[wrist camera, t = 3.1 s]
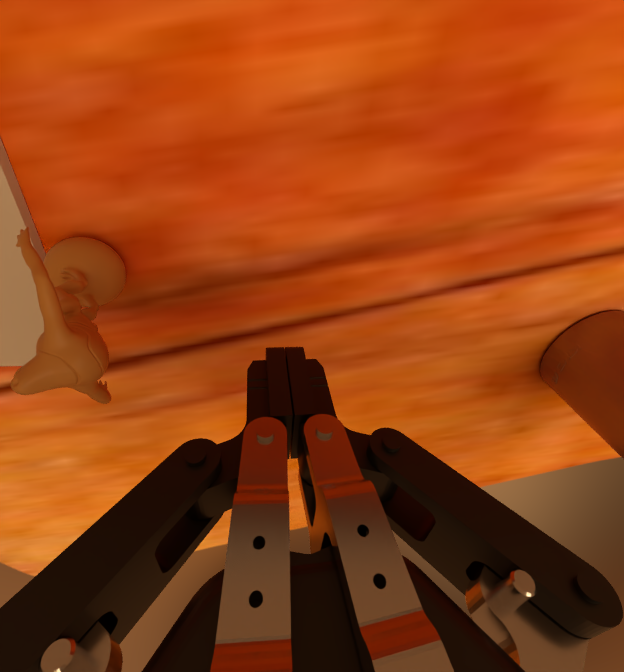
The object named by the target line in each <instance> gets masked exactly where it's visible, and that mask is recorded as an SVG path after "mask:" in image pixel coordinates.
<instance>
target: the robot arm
mask: <svg viewBox="0 0 624 672" xmlns="http://www.w3.org/2000/svg"><path fill="white" fill-rule="evenodd" d="M540 374H541V377H542V379H543V380H544V381H545V382H546V383H547V384H548V385H549V386H550V387H551V388H552V389H553V390H554V391H555V392H556V393H557V394H558V395H559V396H560V397H561V398H562V399H563V400H564V401H565V402H566V403H567V404H568V405H569V406H570V407H571V408H572V409H573V410H574V411H575V412H576V413H577V414H578V415H579V416H580V417H581V418H582V419H583V420H584V421H585V422H586V423H587V424H588V425H589V426H590V427H591V428H592V429H593V430H594V431H595V432H596V433H598V434H599V435H600V436H601V437H602V438H603V439H604V440H605V441H606V442H607V443H608V444H609V445H610V446H611V447H612V448H613V449H614V450H615V451H616V452H617V453H618V454H619V455H620V456H621V457H622V458H623V459H624V311H608V312H602V313H599V314H596V315H593V316H591V317H589V318H586V319H584V320H582V321H580V322H579V323H577V324H575V325H574V326H572V327H571V328H569V329H568V330H567V331H566V332H564V333H563V334H562V335H561V336H559V337H558V339H557V340H556V341H555V342H554V343H553V344H552V345H551V346H550V348H549V349H548V350H547V352H546V353H545V355H544V357H543V359H542V362H541V366H540ZM289 454H290V455H291V459H293V458H298V463H299V474H298V480H299V485H300V490H301V495H302V500H303V505H304V510H305V515H306V520H307V525H308V530H309V539H310V553H311V554H302V553H296V552H291V551H290V539H289V538H290V537H289V536H290V535H289V491H288V476H287V459H289ZM229 509H232V514H231V522H230V530H229V538H228V547H227V554H226V562H225V569H223V570H222V571H220V572H218V573H217V574H216V575H214V576H213V577H212V578H210V579H209V580H208V581H207V582H206V583H205V584H204V585H203V586H202V587H201V588H200V589H199V591H198V592H197V593H196V594H195V595H194V596H193V598H192V599H191V601H190V602H189V603H188V605H187V606H186V608H185V609H184V610H183V612H182V613H181V615H180V616H179V618H178V619H177V621H176V622H175V624H174V625H173V627H172V628H171V630H170V631H169V633H168V634H167V635H166V637H165V638H164V640H163V641H162V643H161V644H160V646H159V647H158V649H157V650H156V651H155V653H154V654H153V656H152V657H151V659H150V660H149V662H148V663H147V665H146V666H145V668H144V669H143V671H142V672H583V670H584V664H585V657H586V652H587V645H588V642H589V640H590V639H591V638H593V637H595V636H597V635H599V634H601V633H603V632H605V631H607V630H609V629H611V628H613V627H615V626H617V625H619V624H620V622H621V620H622V617H623V610H622V605H621V602H620V600H619V597H618V595H617V593H616V592H615V590H614V589H613V587H612V586H611V584H610V583H609V582H608V581H607V580H606V578H605V577H604V576H603V575H602V574H601V573H600V572H598V571H597V570H596V569H595V568H594V567H592V566H591V565H589V564H588V563H587V562H585V561H584V560H582V559H581V558H579V557H578V556H576V555H575V554H574V553H572V552H571V551H569V550H568V549H567V548H565V547H564V546H562V545H561V544H559V543H558V542H557V541H555V540H554V539H552V538H551V537H549V536H548V535H547V534H545V533H544V532H542V531H541V530H539V529H538V528H537V527H535V526H534V525H532V524H531V523H529V522H528V521H527V520H525V519H524V518H522V517H521V516H519V515H518V514H517V513H515V512H514V511H512V510H510V509H509V508H508V507H507V506H505V505H504V504H502V503H501V502H499V501H498V500H497V499H495V498H494V497H492V496H491V495H489V494H488V493H487V492H485V491H484V490H482V489H481V488H479V487H478V486H477V485H475V484H474V483H472V482H471V481H469V480H468V479H467V478H465V477H464V476H462V475H461V474H459V473H458V472H457V471H455V470H454V469H452V468H451V467H449V466H448V465H447V464H445V463H444V462H442V461H441V460H439V459H438V458H437V457H435V456H434V455H432V454H431V453H429V452H428V451H427V450H425V449H424V448H422V447H421V446H419V445H418V444H417V443H415V442H414V441H412V440H411V439H409V438H408V437H407V436H405V435H404V434H402V433H401V432H399V431H397V430H395V429H391V428H380V429H377V430H375V431H374V432H373V433H372V435H367V434H362V433H358V432H354V431H351V430H349V429H347V428H346V427H344V426H343V424H342V423H341V422H340V421H339V420H338V419H337V417H336V414H335V410H334V406H333V403H332V399H331V395H330V391H329V387H328V384H327V380H326V376H325V372H324V368H323V367H322V365H321V364H320V363H319V362H318V361H317V360H316V359H306V358H305V353H304V348H303V347H285V350H284V347H277V348H266V360H258V361H253V362H252V363H251V365H250V366H249V368H248V371H247V421H246V425H245V427H244V429H243V430H242V432H241V433H240V434H239V435H237V436H236V437H234V438H233V439H231V440H228V441H226V442H223V443H220V444H217V445H216V443H214V442H213V441H211V440H208V439H203V438H200V439H193V440H190V441H188V442H186V443H184V444H182V445H181V446H180V447H179V448H177V449H176V450H175V451H174V452H173V453H172V454H171V455H170V456H169V457H167V458H166V459H165V460H164V461H163V462H162V463H161V464H160V465H159V466H157V467H156V468H155V469H154V470H153V471H152V472H151V473H150V474H149V475H147V476H146V477H145V478H144V479H143V480H142V481H141V482H140V483H139V484H137V485H136V486H135V487H134V488H133V489H132V490H131V491H130V492H129V493H128V494H126V495H125V496H124V497H123V498H122V499H121V500H120V501H119V502H118V503H116V504H115V505H114V506H113V507H112V508H111V509H110V510H109V511H108V512H106V513H105V514H104V515H103V516H102V517H101V518H100V519H99V520H98V521H96V522H95V523H94V524H93V525H92V526H91V527H90V528H89V529H88V530H86V531H85V532H84V533H83V534H82V535H81V536H80V537H79V538H78V539H76V540H75V541H74V542H73V543H72V544H71V545H70V546H69V547H68V548H66V549H65V550H64V551H63V552H62V553H61V554H60V555H59V556H58V557H57V558H55V559H54V560H53V561H52V562H51V563H50V564H49V565H48V566H47V567H45V568H44V569H43V570H42V571H41V572H40V573H39V574H38V575H37V576H35V577H34V578H33V579H32V580H31V581H30V582H29V583H28V584H27V585H25V586H24V587H23V588H22V589H21V590H20V591H19V592H18V593H17V594H15V595H14V596H13V597H12V598H11V599H10V600H9V601H8V602H7V603H5V604H4V605H3V606H2V607H1V608H0V672H121V670H122V663H123V657H122V651H121V648H120V646H119V644H120V643H121V642H122V640H123V639H124V638H125V637H126V635H127V634H128V633H129V632H130V630H131V629H132V628H133V627H134V625H135V624H136V623H137V622H138V620H139V619H140V618H141V617H142V615H143V614H144V613H145V612H146V610H147V609H148V608H149V606H150V605H151V604H152V603H153V602H154V600H155V599H156V598H157V597H158V595H159V594H160V593H161V592H162V590H163V589H164V588H165V587H166V585H167V584H168V583H169V582H170V580H171V579H172V578H173V577H174V575H175V574H176V573H177V572H178V570H179V569H180V568H181V566H182V565H183V564H184V563H185V562H186V560H187V559H188V558H189V557H190V555H191V554H192V553H193V552H194V550H195V549H196V548H197V547H198V545H199V544H200V543H201V542H202V540H203V539H204V538H205V537H206V535H207V534H208V533H209V532H210V530H211V529H212V528H213V527H214V525H215V524H216V523H217V522H218V520H219V519H220V518H221V517H222V515H223V513H224V512H225V511H227V510H229ZM392 530H393V531H394V532H395V533H396V534H397V535H398V536H399V537H400V538H401V539H403V540H404V541H405V542H406V543H407V544H408V545H409V546H410V547H411V548H413V549H414V550H415V551H416V552H417V553H418V554H419V555H421V556H422V557H423V558H424V559H425V560H426V561H427V562H428V563H429V564H431V565H432V566H433V567H434V568H435V569H436V570H437V571H438V572H439V573H441V574H442V575H443V576H444V577H445V578H446V579H447V580H449V581H450V582H451V583H452V584H453V585H454V586H455V587H456V588H457V589H458V590H460V591H461V592H462V593H463V594H464V595H465V596H466V604H467V608H468V611H469V613H470V616H471V618H470V617H469V616H468V615H467V614H466V613H465V612H463V611H462V609H461V608H460V607H458V606H457V605H456V604H455V603H454V602H453V601H452V600H451V599H450V598H449V597H448V596H447V595H446V594H445V593H444V592H443V591H442V590H441V589H440V588H439V587H438V586H437V585H436V584H435V583H434V582H432V580H431V579H430V578H429V577H428V576H427V575H426V574H425V573H423V571H422V570H421V569H419V568H418V567H417V566H416V565H415V564H414V563H412V562H411V561H410V560H409V559H407V558H406V557H404V556H402V555H401V553H400V550H399V548H398V545H397V542H396V540H395V537H394V535H393V532H392Z"/></svg>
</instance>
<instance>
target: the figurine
mask: <svg viewBox="0 0 624 672" xmlns="http://www.w3.org/2000/svg"><path fill="white" fill-rule="evenodd" d="M17 239H18V241H17V244H16V246H17V247H21V252H22V256H23V258H24V260H25V262H26V264H27V265H28V267H29V268H30V269H31V273H32V277H33V280H34V283H35V285H36V291H37V297H38V302H39V307H40V310H41V313H42V316H43V320H44V332H43V333H42V334H41V335H40V337H39V338H38V341H37V344H36V356H35V357H34V358H32V359H31V360H30V361H29V362H27V363H26V364H25V365H23V366H22V367H21V368H20V369H18V370H17V372H16V373H15V375H14V378H13V380H12V381H11V388H12V389H13V390H14V391H15V392H16V393H18V394H21V395H30V394H35V393H39V392H43V391H46V390H50V389H55V388H62V387H68V388H73V389H75V390H77V391H79V392H82V393H85V394H87V395H88V396H89V397H91V398H92V399H94V400H96V401H97V402H99V403H103V404H107V403H109V402H110V401H111V395H110V393H109V391H108V390H107V383H106V381H105V384H104V385H103V384H102V382H101V381H99V383H98V381H97V380H98V379H100V378H101V377H102V376H103V374H104V373H105V372H106V369H107V367H108V362H109V354H108V349H107V346H106V344H105V342H104V341H103V339H102V337H101V335H100V334H99V333H98V332H97V331H98V328H97V326H96V325H95V324H94V323H92V322H91V321H92V320H94V319H95V318H96V315H97V311H98V310H99V306H100V305H104V304H106V303H108V302H110V301H112V300H113V299H115V298H116V297H117V296H118V295H119V294H120V293H121V291H122V290H123V288H124V285H125V282H126V270H125V266H124V263H123V261H122V259H121V258H120V256H119V255H118V254H117V253H116V252H115V251H114V250H113V249H112V248H111V247H110V246H108V245H107V244H105V243H103V242H101V241H99V240H96V239H92V238H87V237H73V238H68V239H65V240H62V241H60V242H58V243H57V244H55V245H54V246H53V247H52V248H51V249H50V250H49V251H48V253H47V254H46V256H45V259H44V262H43V261H42V259H41V258H40V256H39V255H38V253H37V251H36V250H35V249H34V247H33V246H32V244H31V241H30V234H29V227H26V229H25V230H23V229H21V230H20V235H17ZM81 306H83V307H89V308H85V309H82V310H81Z"/></svg>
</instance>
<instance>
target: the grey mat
mask: <svg viewBox="0 0 624 672" xmlns="http://www.w3.org/2000/svg"><path fill="white" fill-rule="evenodd" d="M26 227H29V234H30V241H31V244H32V246H33V247H34V249H35V250H36V251H37V253H38V255H39V256H40V258H41V259H42V261H43V262H44V259H45V256H46V253H45V251H44V248H43V245H42V243H41V240H40V238H39V235H38V233H37V230H36V227H35V225H34V222H33V220H32V217H31V215H30V212H29V210H28V207H27V204H26V202H25V199H24V197H23V194H22V192H21V189H20V187H19V184H18V181H17V179H16V176H15V174H14V171H13V169H12V166H11V163H10V161H9V158H8V156H7V153H6V151H5V148H4V146H3V143H2V140H1V138H0V366H23V365H25V364H26V363H27V362H29V361H30V360H31V359H32V358H34V357H35V356H36V344H37V341H38V338H39V337H40V335H41V334H42V333H43V332H44V320H43V316H42V313H41V310H40V307H39V302H38V297H37V291H36V285H35V283H34V280H33V277H32V273H31V269H30V268H29V267H28V265H27V264H26V262H25V260H24V258H23V256H22V252H21V247H17V246H16V244H17V241H18V239H17V235H20V230H21V229H23V230H25V229H26Z"/></svg>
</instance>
